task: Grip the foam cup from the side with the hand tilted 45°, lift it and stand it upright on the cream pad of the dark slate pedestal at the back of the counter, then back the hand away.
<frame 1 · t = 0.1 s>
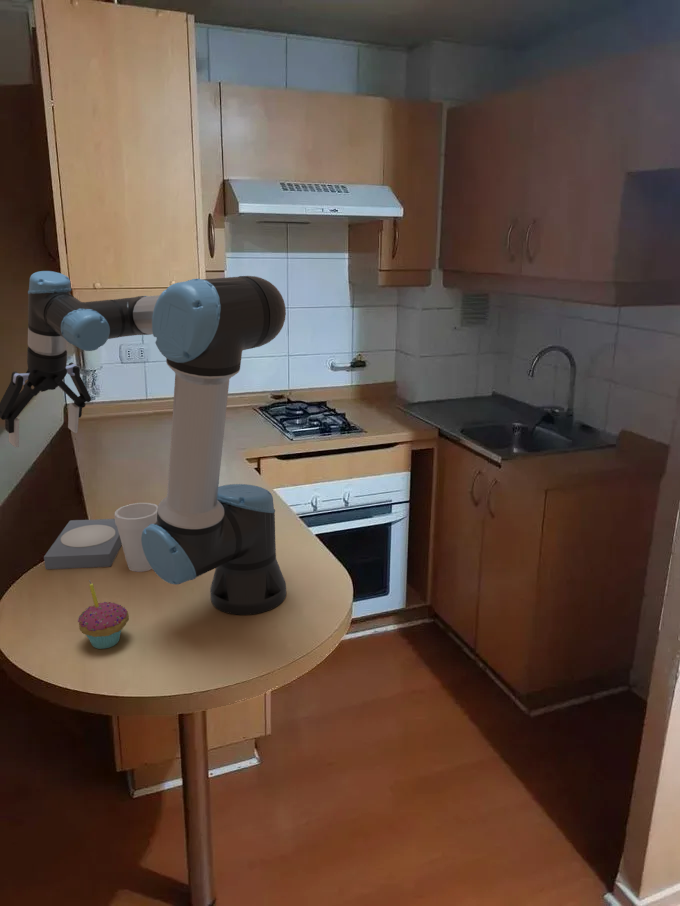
hand: (44, 437, 154), 28 cm above the countertop, tool tilted 20°, fingers open, 13 cm apart
foam cup: (143, 566, 156), on the countertop
pedestal: (90, 548, 165), on the countertop
cupcake: (106, 642, 128), on the countertop
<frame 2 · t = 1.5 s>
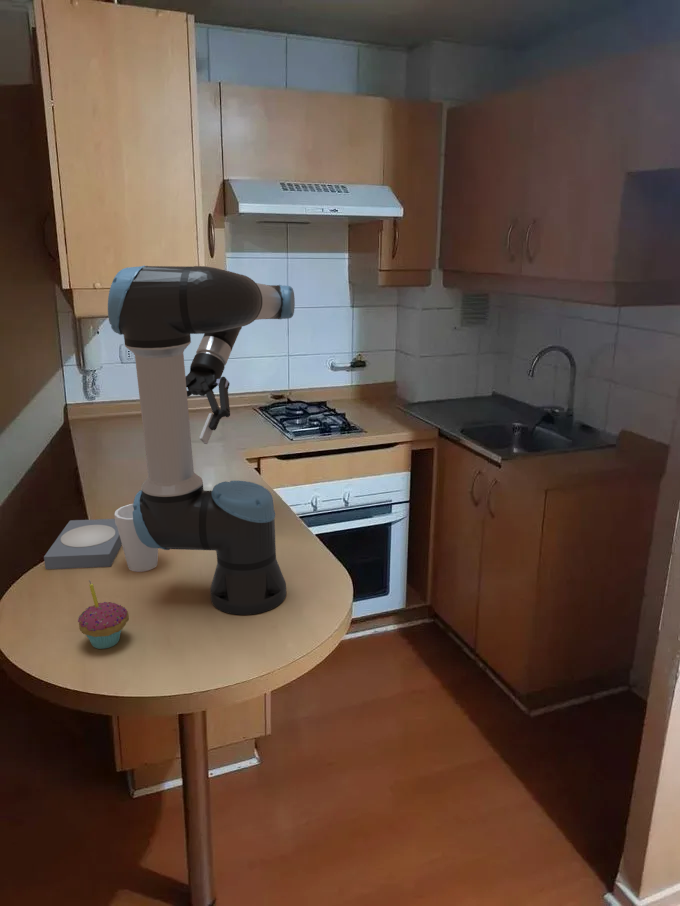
hand: (177, 438, 160), 26 cm above the countertop, tool tilted 45°, fingers open, 13 cm apart
nothing on the countertop moved.
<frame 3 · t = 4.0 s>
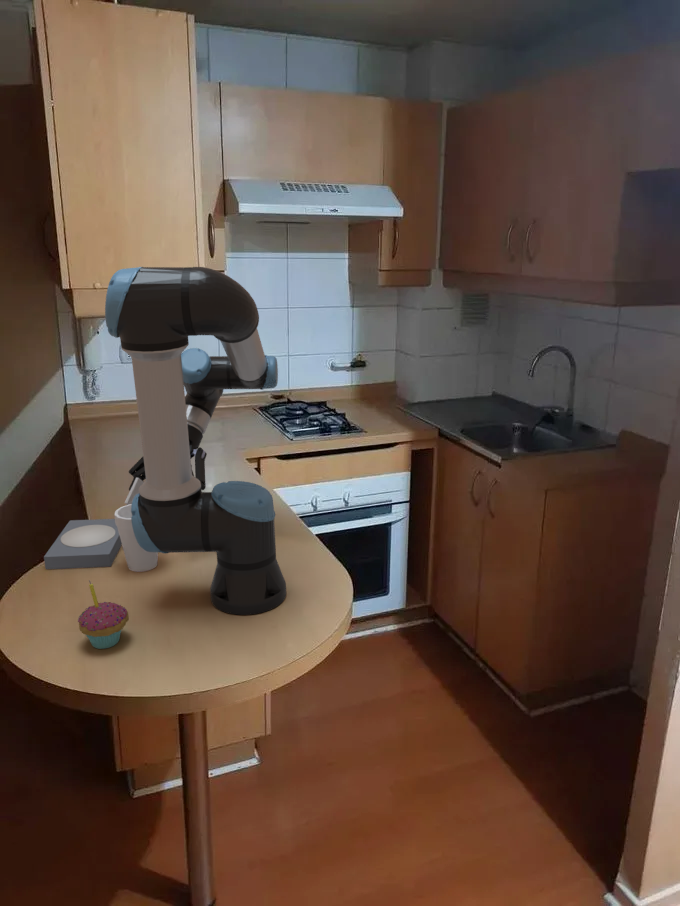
hand: (152, 510, 158), 11 cm above the countertop, tool tilted 45°, fingers open, 13 cm apart
nothing on the countertop moved.
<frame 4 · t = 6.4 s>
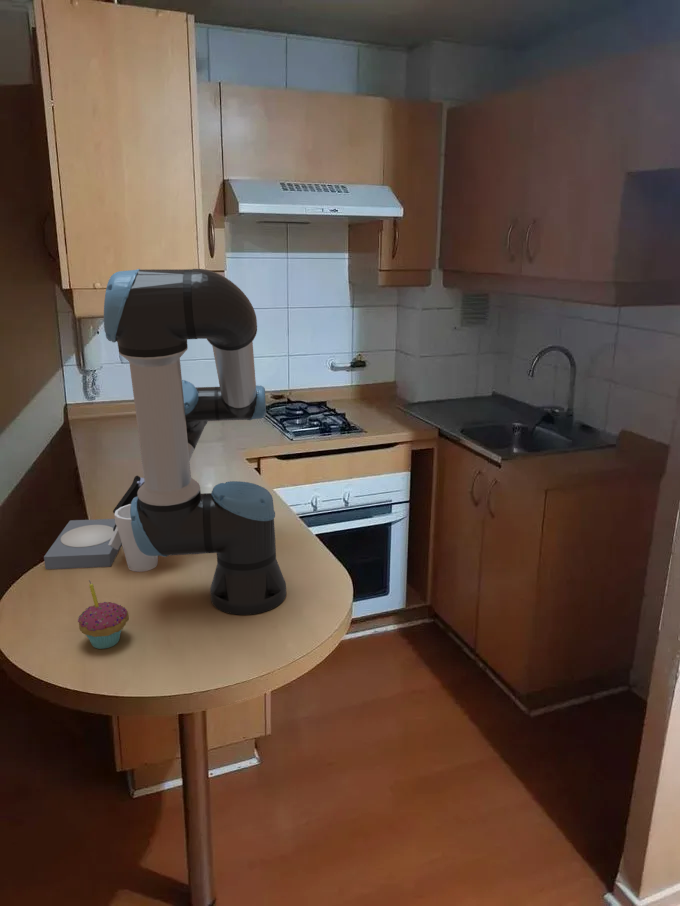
hand: (131, 551, 152), 5 cm above the countertop, tool tilted 45°, fingers closed on foam cup, 9 cm apart
foam cup: (143, 565, 156), on the countertop, touching gripper
everything else where it was.
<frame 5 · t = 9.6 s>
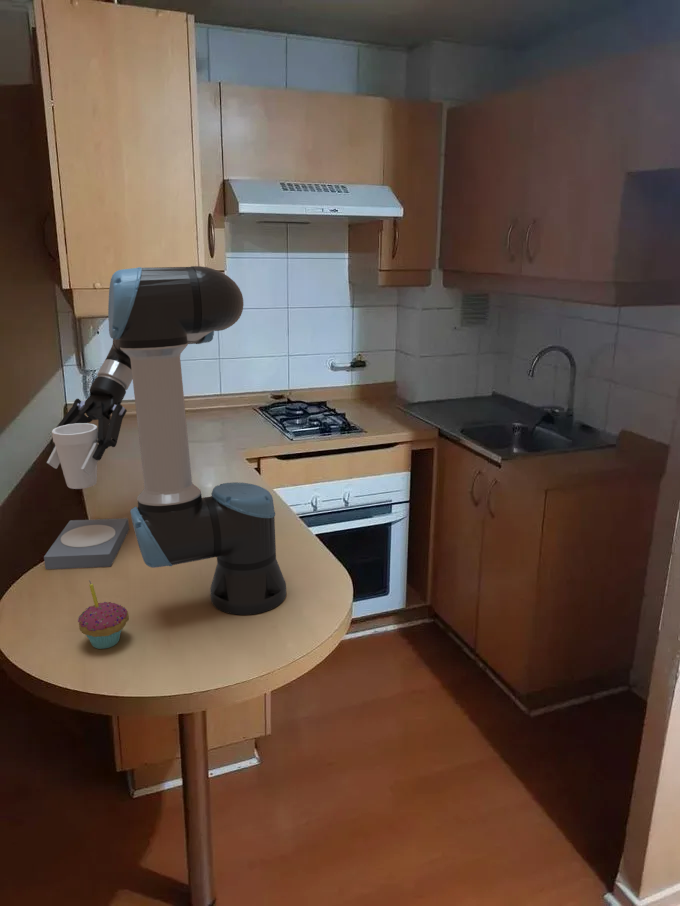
hand: (68, 468, 156), 21 cm above the countertop, tool tilted 45°, fingers closed on foam cup, 9 cm apart
foam cup: (82, 484, 160), point 16 cm above the countertop, touching gripper
everything else where it was.
when the fingers open (9 cm above the countertop, at t = 13.0 s): foam cup drops 1 cm, resting on pedestal.
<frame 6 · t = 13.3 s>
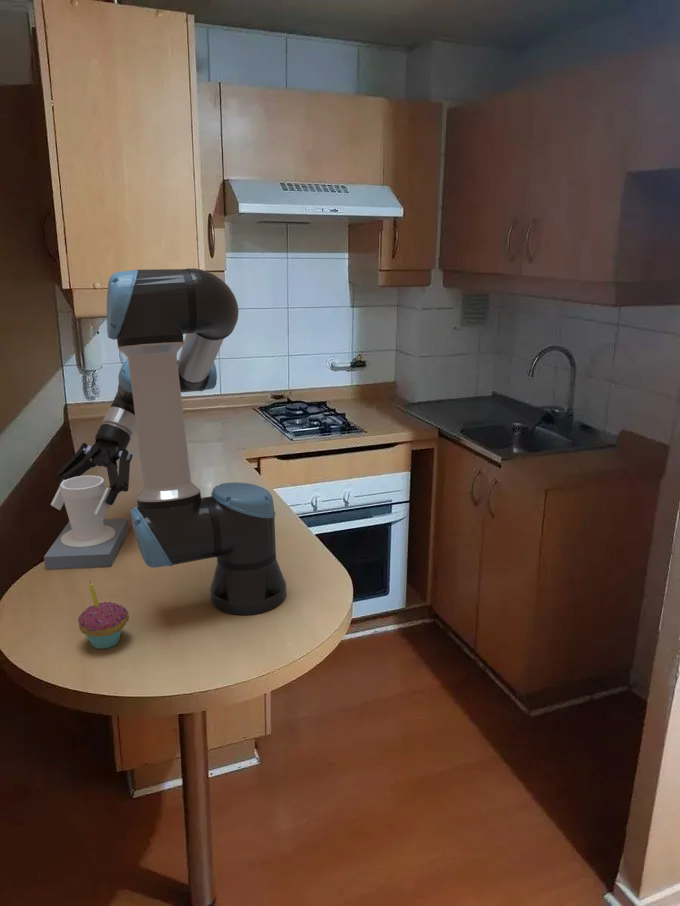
hand: (76, 512, 159), 10 cm above the countertop, tool tilted 45°, fingers open, 12 cm apart
foam cup: (88, 535, 164), point 3 cm above the countertop, touching pedestal
everything else where it was.
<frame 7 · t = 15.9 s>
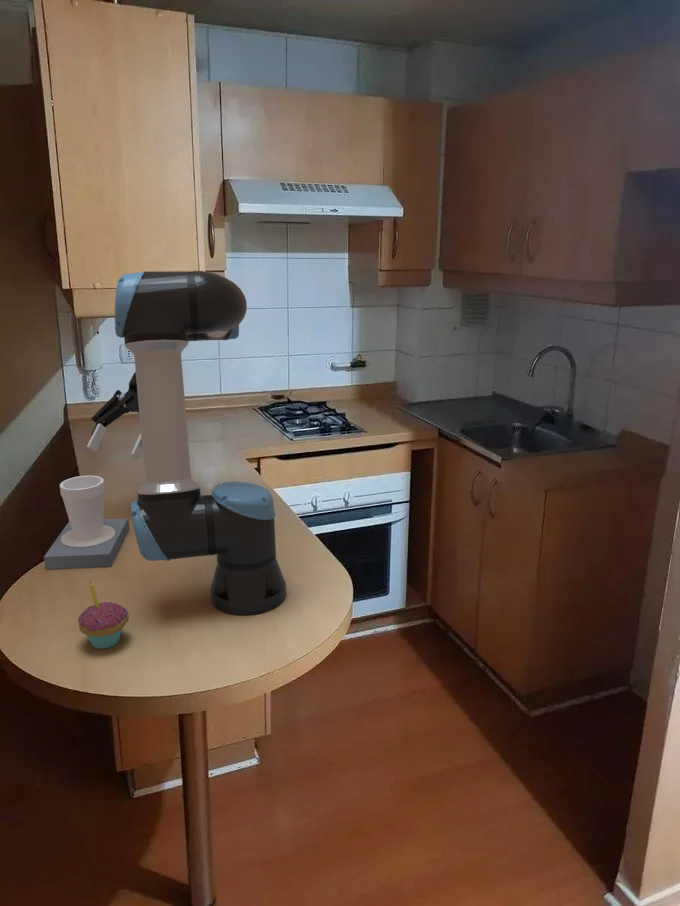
hand: (112, 453, 167), 20 cm above the countertop, tool tilted 45°, fingers open, 13 cm apart
nothing on the countertop moved.
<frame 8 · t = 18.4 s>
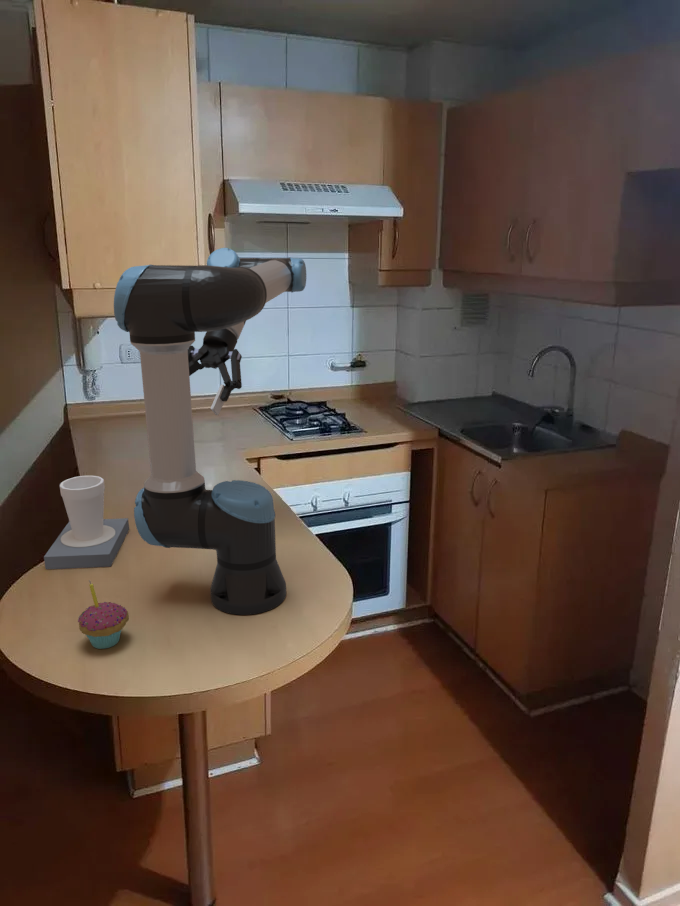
hand: (189, 409, 160), 32 cm above the countertop, tool tilted 45°, fingers open, 13 cm apart
nothing on the countertop moved.
at the end: foam cup inside the target area on the pedestal (0.1 cm from its centre), point 3.1 cm above the pedestal's base; foam cup tilted 0°; the gripper is holding nothing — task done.
